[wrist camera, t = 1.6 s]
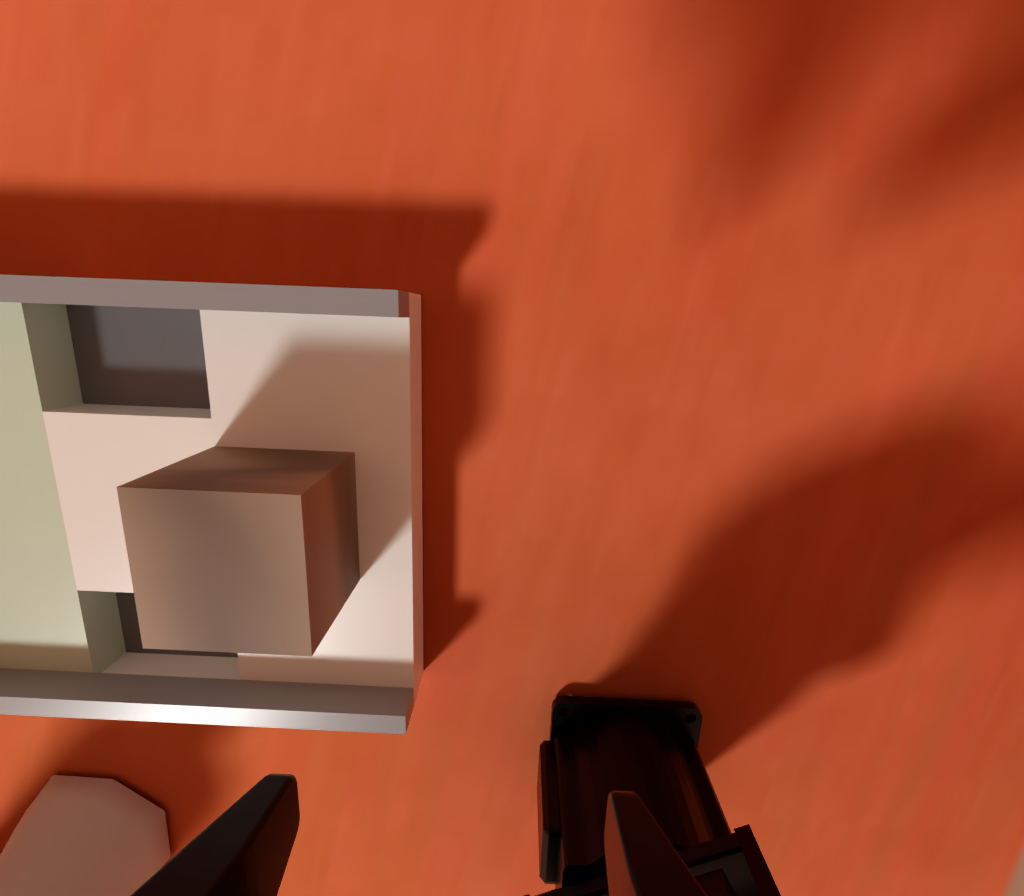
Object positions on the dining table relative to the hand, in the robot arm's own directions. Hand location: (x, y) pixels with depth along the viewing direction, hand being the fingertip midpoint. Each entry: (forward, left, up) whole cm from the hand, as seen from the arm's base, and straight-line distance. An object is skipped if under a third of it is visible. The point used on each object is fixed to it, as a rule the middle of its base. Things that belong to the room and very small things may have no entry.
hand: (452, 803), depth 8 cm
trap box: (+13, 0, -13) cm, 18 cm away
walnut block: (+8, 0, -11) cm, 13 cm away
